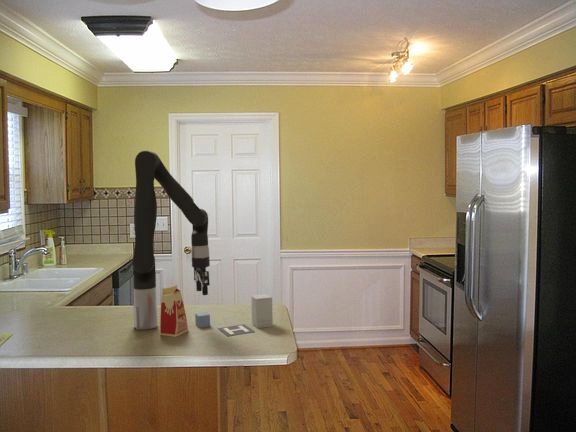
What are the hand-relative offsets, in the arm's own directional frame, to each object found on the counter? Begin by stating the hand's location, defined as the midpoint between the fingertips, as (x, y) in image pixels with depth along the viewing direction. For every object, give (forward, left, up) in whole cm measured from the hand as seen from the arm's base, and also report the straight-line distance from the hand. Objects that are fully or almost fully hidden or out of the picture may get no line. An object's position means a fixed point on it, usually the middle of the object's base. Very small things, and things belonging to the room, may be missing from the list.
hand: (202, 293), depth 224 cm
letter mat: (+10, -14, -14) cm, 22 cm away
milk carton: (-14, -4, -14) cm, 21 cm away
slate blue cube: (0, 0, -14) cm, 14 cm away
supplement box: (+22, -13, -14) cm, 29 cm away
